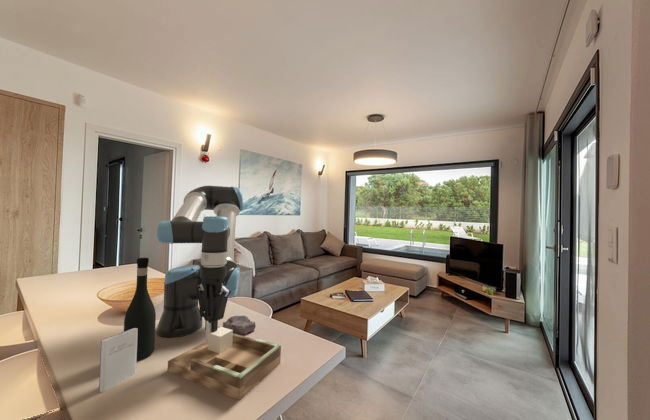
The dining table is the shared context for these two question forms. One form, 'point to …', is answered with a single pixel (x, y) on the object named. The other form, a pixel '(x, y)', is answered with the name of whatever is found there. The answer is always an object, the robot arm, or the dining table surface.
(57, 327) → the dining table surface
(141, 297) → the wine bottle
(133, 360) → the hard drive
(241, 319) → the rock
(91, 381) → the dining table surface
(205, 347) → the wooden tray
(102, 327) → the dining table surface
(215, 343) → the block
